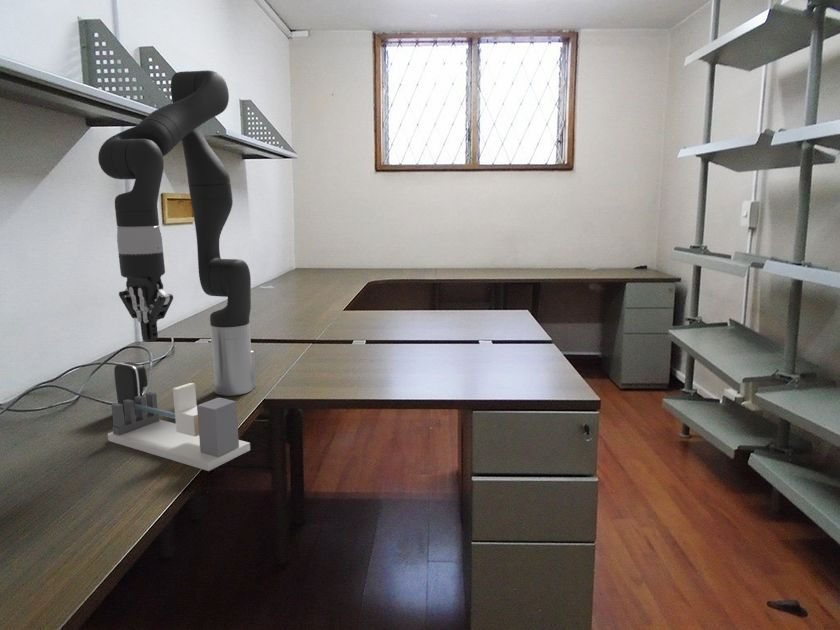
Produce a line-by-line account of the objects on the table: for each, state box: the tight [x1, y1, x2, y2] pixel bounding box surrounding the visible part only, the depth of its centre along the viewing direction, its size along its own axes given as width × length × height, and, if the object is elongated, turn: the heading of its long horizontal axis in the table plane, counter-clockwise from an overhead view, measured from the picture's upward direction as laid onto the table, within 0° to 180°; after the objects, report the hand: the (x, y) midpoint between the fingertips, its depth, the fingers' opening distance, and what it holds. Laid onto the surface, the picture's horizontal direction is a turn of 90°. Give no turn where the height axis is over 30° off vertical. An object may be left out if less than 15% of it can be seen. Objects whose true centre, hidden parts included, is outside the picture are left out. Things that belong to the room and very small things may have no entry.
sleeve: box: [172, 382, 199, 437], centre depth 106 cm, size 4×5×8 cm
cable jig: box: [107, 391, 251, 472], centre depth 109 cm, size 10×28×10 cm, turn 62°
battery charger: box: [113, 361, 148, 414], centre depth 127 cm, size 7×4×11 cm, turn 63°
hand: (150, 340), depth 109 cm, fingers closed
